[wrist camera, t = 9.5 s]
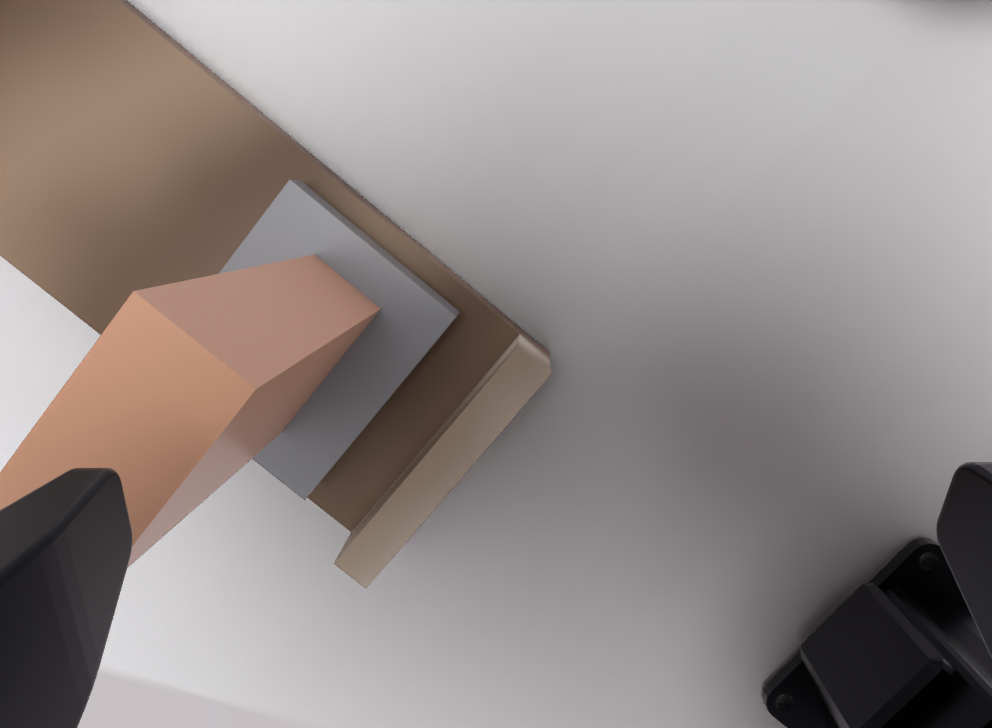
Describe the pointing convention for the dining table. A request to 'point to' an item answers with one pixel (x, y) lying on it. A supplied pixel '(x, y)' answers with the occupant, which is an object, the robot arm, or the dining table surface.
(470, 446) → the fader track
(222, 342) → the fader
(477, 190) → the dining table surface
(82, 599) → the robot arm
